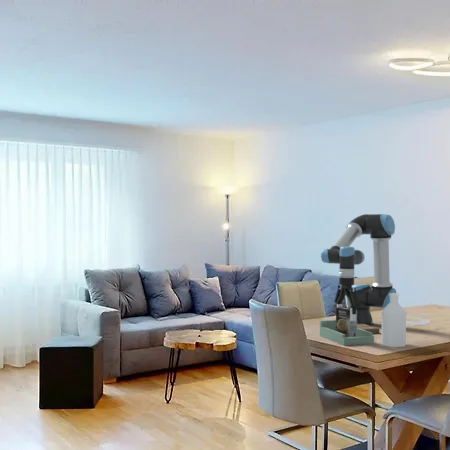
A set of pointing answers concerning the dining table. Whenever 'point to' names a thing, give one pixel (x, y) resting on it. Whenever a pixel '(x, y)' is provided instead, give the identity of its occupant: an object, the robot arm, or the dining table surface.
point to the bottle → (393, 323)
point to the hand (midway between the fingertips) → (346, 318)
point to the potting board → (368, 328)
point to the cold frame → (330, 333)
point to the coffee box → (345, 322)
